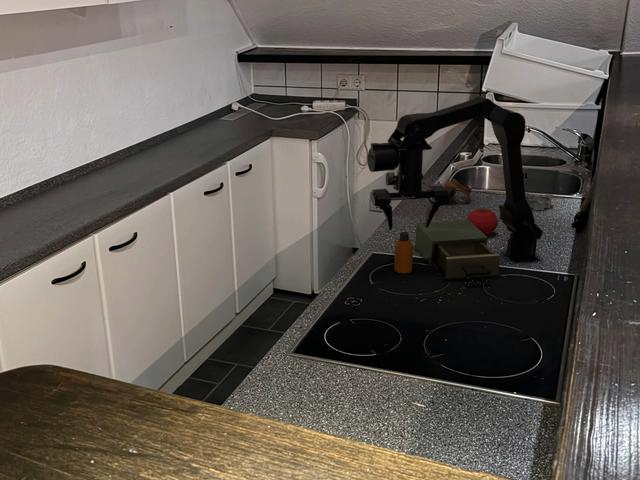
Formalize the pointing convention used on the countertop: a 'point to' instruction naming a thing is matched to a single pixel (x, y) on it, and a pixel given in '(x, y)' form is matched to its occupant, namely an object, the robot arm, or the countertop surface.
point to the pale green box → (444, 236)
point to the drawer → (466, 259)
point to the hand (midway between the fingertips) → (408, 228)
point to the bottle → (403, 254)
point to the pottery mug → (455, 185)
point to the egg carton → (538, 201)
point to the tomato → (483, 220)
